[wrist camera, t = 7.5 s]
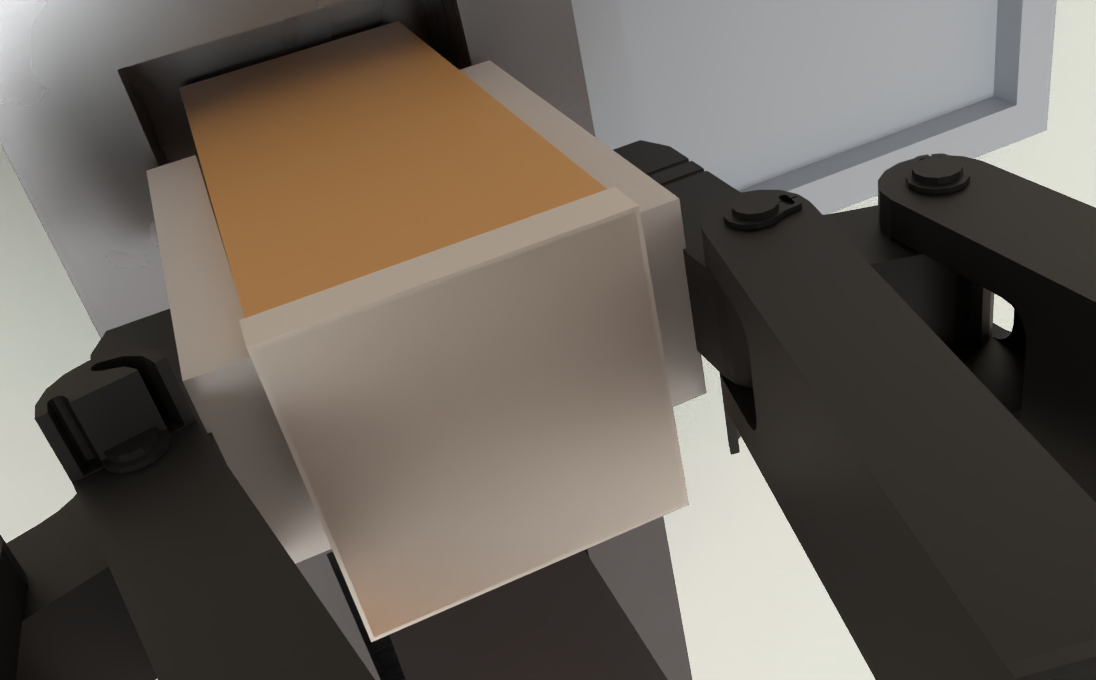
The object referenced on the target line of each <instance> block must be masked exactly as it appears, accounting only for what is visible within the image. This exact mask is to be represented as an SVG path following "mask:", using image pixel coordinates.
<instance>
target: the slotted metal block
mask: <svg viewBox="0 0 1096 680" xmlns="http://www.w3.org/2000/svg"><path fill="white" fill-rule="evenodd" d="M396 21H399V22H400V23H401V24H403V25H404V26H405V27H406V28H407V29H409V30H410V31H411V32H412V33H414V34H415V35H416V36H417V37H419V38H420V39H421V40H422V41H424V42H425V43H426V44H427V45H429V46H430V47H431V48H432V49H434V50H435V51H436V52H437V53H439V54H440V55H441V56H442V57H444V58H445V59H446V60H447V61H449V62H450V63H451V64H452V65H454V66H455V67H456V68H457V69H458V70H461V69H464V68H467V67H470V66H473V65H476V64H479V63H482V62H486V61H489V60H490V61H491V62H493V63H494V64H496V65H497V66H498V67H500V68H501V69H502V70H504V71H505V72H507V73H508V74H509V75H511V76H512V77H513V78H515V79H516V80H517V81H519V82H520V83H522V84H523V85H524V86H526V87H527V88H528V89H530V90H531V91H533V92H534V93H535V94H537V95H538V96H539V97H541V98H542V99H544V100H545V101H546V102H548V103H549V104H550V105H552V106H553V107H555V108H556V109H557V110H559V111H560V112H561V113H563V114H564V115H565V116H567V117H568V118H570V119H571V120H572V121H574V122H575V123H576V124H578V125H579V126H581V127H582V128H583V129H585V130H586V131H587V132H589V133H590V134H592V135H593V136H594V137H595V131H594V126H593V120H592V114H591V109H590V103H589V97H588V92H587V86H586V81H585V75H584V69H583V64H582V58H581V53H580V47H579V41H578V36H577V30H576V24H575V19H574V13H573V8H572V2H571V0H0V144H1V146H2V148H3V149H4V151H5V153H6V155H7V157H8V159H9V161H10V163H11V165H12V167H13V169H14V171H15V173H16V175H17V177H18V179H19V180H20V182H21V184H22V186H23V188H24V190H25V192H26V194H27V196H28V198H29V200H30V202H31V204H32V206H33V208H34V210H35V211H36V213H37V215H38V217H39V219H40V221H41V223H42V225H43V227H44V229H45V231H46V233H47V235H48V237H49V239H50V241H51V242H52V244H53V246H54V248H55V250H56V252H57V254H58V256H59V258H60V260H61V262H62V264H63V266H64V268H65V270H66V272H67V273H68V275H69V277H70V279H71V281H72V283H73V285H74V287H75V289H76V291H77V293H78V295H79V297H80V299H81V301H82V303H83V304H84V306H85V308H86V310H87V312H88V314H89V316H90V318H91V320H92V322H93V324H94V326H95V328H96V330H97V332H98V334H99V335H100V337H101V338H102V337H103V335H104V334H105V332H106V331H107V330H110V329H113V328H116V327H119V326H122V325H124V324H127V323H130V322H133V321H136V320H139V319H141V318H144V317H147V316H150V315H153V314H156V313H158V312H161V311H164V310H167V309H170V305H169V300H168V294H167V288H166V282H165V277H164V271H163V265H162V259H161V253H160V248H159V242H158V236H157V230H156V224H155V219H154V213H153V207H152V201H151V195H150V190H149V184H148V178H147V172H146V171H147V170H150V169H153V168H156V167H160V166H163V165H166V164H169V163H172V162H175V161H178V160H181V159H184V158H187V157H191V156H194V155H196V157H197V159H198V162H199V164H200V167H201V163H200V160H199V156H198V153H197V149H196V146H195V142H194V138H193V135H192V131H191V128H190V124H189V121H188V117H187V114H186V110H185V107H184V103H183V100H182V96H181V93H180V89H179V88H180V87H183V86H186V85H190V84H193V83H196V82H199V81H203V80H206V79H209V78H212V77H216V76H219V75H222V74H226V73H229V72H232V71H235V70H239V69H242V68H245V67H249V66H252V65H255V64H258V63H262V62H265V61H268V60H272V59H275V58H278V57H281V56H285V55H288V54H291V53H295V52H298V51H301V50H304V49H308V48H311V47H314V46H318V45H321V44H324V43H327V42H331V41H334V40H337V39H341V38H344V37H347V36H350V35H354V34H357V33H360V32H364V31H367V30H370V29H373V28H377V27H380V26H383V25H387V24H390V23H393V22H396ZM201 169H202V167H201ZM202 172H203V170H202ZM585 552H586V553H587V555H588V556H589V558H590V559H591V561H592V562H593V564H594V566H595V567H596V569H597V570H598V572H599V573H600V575H601V576H602V578H603V580H604V581H605V583H606V584H607V586H608V587H609V589H610V591H611V592H612V594H613V595H614V597H615V598H616V600H617V601H618V603H619V605H620V606H621V608H622V609H623V611H624V612H625V614H626V615H627V617H628V619H629V620H630V622H631V623H632V625H633V626H634V628H635V630H636V631H637V633H638V634H639V636H640V637H641V639H642V640H643V642H644V644H645V645H646V647H647V648H648V650H649V651H650V653H651V654H652V656H653V658H654V659H655V661H656V662H657V664H658V665H659V667H660V668H661V670H662V672H663V673H664V675H665V676H666V678H667V679H668V680H692V676H691V670H690V664H689V659H688V653H687V647H686V642H685V636H684V631H683V625H682V619H681V614H680V608H679V603H678V597H677V591H676V586H675V580H674V575H673V569H672V563H671V558H670V552H669V546H668V541H667V535H666V530H665V524H664V518H663V516H661V517H659V518H657V519H655V520H652V521H650V522H648V523H645V524H643V525H641V526H638V527H636V528H634V529H631V530H629V531H627V532H625V533H622V534H620V535H618V536H615V537H613V538H611V539H608V540H606V541H604V542H601V543H599V544H597V545H595V546H592V547H590V548H588V549H585ZM296 566H297V567H298V569H299V570H300V572H301V573H302V574H303V576H304V577H305V579H306V580H307V582H308V583H309V585H310V586H311V587H312V589H313V590H314V592H315V593H316V595H317V596H318V598H319V599H320V601H321V602H322V603H323V605H324V606H325V608H326V609H327V611H328V612H329V614H330V615H331V616H332V618H333V619H334V621H335V622H336V624H337V625H338V627H339V628H340V630H341V631H342V632H343V634H344V635H345V637H346V638H347V640H348V641H349V643H350V644H351V645H352V647H353V648H354V650H355V651H356V653H357V654H358V656H359V657H360V659H361V660H362V661H363V663H364V664H365V666H366V667H367V669H368V670H369V672H370V673H371V674H372V676H373V677H374V679H375V680H406V679H405V677H404V674H403V671H402V668H401V666H400V663H399V660H398V657H397V654H396V652H395V649H394V646H393V643H392V641H391V638H390V635H387V636H385V637H382V638H380V639H378V640H375V641H373V642H371V640H370V638H369V635H368V633H367V631H366V628H365V626H364V624H363V621H362V619H361V616H360V614H359V612H358V609H357V607H356V605H355V602H354V600H353V598H352V595H351V593H350V591H349V588H348V586H347V583H346V581H345V579H344V576H343V574H342V572H341V569H340V567H339V565H338V562H337V560H336V557H335V555H334V553H333V550H332V549H330V550H327V551H325V552H323V553H320V554H318V555H315V556H313V557H311V558H308V559H306V560H303V561H301V562H299V563H296Z"/></svg>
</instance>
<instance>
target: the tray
mask: <svg viewBox="0 0 1096 680" xmlns="http://www.w3.org/2000/svg"><path fill="white" fill-rule="evenodd" d="M1056 1H1057V0H571V2H572V8H573V13H574V19H575V24H576V30H577V36H578V41H579V47H580V53H581V58H582V64H583V69H584V75H585V81H586V86H587V92H588V97H589V103H590V109H591V114H592V120H593V126H594V131H595V137H596V138H597V139H598V140H600V141H601V142H603V143H604V144H605V145H607V146H608V147H609V148H611V149H612V150H613V149H616V148H619V147H622V146H625V145H628V144H631V143H633V142H636V141H639V140H643V141H648V142H652V143H657V144H662V145H666V146H670V147H672V148H673V149H675V150H676V151H678V152H679V153H681V154H682V155H684V156H686V157H687V158H688V159H689V162H690V161H693V162H695V163H696V164H698V165H699V166H701V167H702V168H704V171H709V172H710V173H712V174H713V175H715V176H716V177H718V178H719V179H721V180H722V181H724V182H725V183H727V184H728V185H730V186H732V187H733V188H735V189H736V190H738V191H739V192H748V191H754V190H783V191H787V192H792V193H796V194H799V195H800V196H802V197H804V198H805V199H807V200H809V201H810V202H811V203H812V204H813V205H814V206H815V207H816V208H817V209H818V210H819V211H820V212H821V214H822V215H826V214H830V213H833V212H835V211H838V210H840V209H843V208H846V207H848V206H851V205H853V204H856V203H859V202H861V201H864V200H866V199H869V198H872V197H874V196H877V195H878V180H879V178H880V177H881V175H882V174H883V173H884V171H885V170H887V169H889V168H891V167H892V166H894V165H896V164H898V163H900V162H903V161H907V160H910V159H914V158H915V157H917V156H921V155H927V154H928V155H929V156H931V154H939V153H943V154H947V155H952V156H965V157H969V158H972V159H973V158H975V157H978V156H981V155H983V154H986V153H988V152H991V151H994V150H996V149H999V148H1001V147H1004V146H1007V145H1009V144H1012V143H1014V142H1017V141H1020V140H1022V139H1025V138H1027V137H1030V136H1033V135H1035V134H1038V133H1040V132H1043V131H1046V130H1047V119H1048V106H1049V92H1050V79H1051V66H1052V53H1053V40H1054V27H1055V14H1056Z"/></svg>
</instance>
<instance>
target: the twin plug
mask: <svg viewBox="0 0 1096 680" xmlns="http://www.w3.org/2000/svg"><path fill="white" fill-rule="evenodd" d="M389 635H390V638H391V641H392V643H393V646H394V649H395V652H396V654H397V657H398V660H399V663H400V666H401V668H402V671H403V674H404V677H405V679H406V680H668V679H667V678H666V676H665V675H664V673H663V672H662V670H661V668H660V667H659V665H658V664H657V662H656V661H655V659H654V658H653V656H652V654H651V653H650V651H649V650H648V648H647V647H646V645H645V644H644V642H643V640H642V639H641V637H640V636H639V634H638V633H637V631H636V630H635V628H634V626H633V625H632V623H631V622H630V620H629V619H628V617H627V615H626V614H625V612H624V611H623V609H622V608H621V606H620V605H619V603H618V601H617V600H616V598H615V597H614V595H613V594H612V592H611V591H610V589H609V587H608V586H607V584H606V583H605V581H604V580H603V578H602V576H601V575H600V573H599V572H598V570H597V569H596V567H595V566H594V564H593V562H592V561H591V559H590V558H589V556H588V555H587V553H586V552H585V550H583V551H581V552H578V553H576V554H574V555H571V556H569V557H567V558H565V559H562V560H560V561H558V562H555V563H553V564H551V565H548V566H546V567H544V568H542V569H539V570H537V571H535V572H532V573H530V574H528V575H525V576H523V577H521V578H518V579H516V580H514V581H512V582H509V583H507V584H505V585H502V586H500V587H498V588H495V589H493V590H491V591H488V592H486V593H484V594H482V595H479V596H477V597H475V598H472V599H470V600H468V601H465V602H463V603H461V604H459V605H456V606H454V607H452V608H449V609H447V610H445V611H442V612H440V613H438V614H435V615H433V616H431V617H429V618H426V619H424V620H422V621H419V622H417V623H415V624H412V625H410V626H408V627H405V628H403V629H401V630H399V631H396V632H394V633H392V634H389Z"/></svg>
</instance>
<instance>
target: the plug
mask: <svg viewBox="0 0 1096 680" xmlns="http://www.w3.org/2000/svg"><path fill="white" fill-rule="evenodd" d="M179 89H180V93H181V96H182V100H183V103H184V107H185V110H186V114H187V117H188V121H189V124H190V128H191V131H192V135H193V138H194V142H195V146H196V149H197V153H198V156H199V160H200V163H201V167H202V170H203V174H204V177H205V181H206V184H207V188H208V191H209V195H210V198H211V202H212V205H213V209H214V212H215V216H216V219H217V223H218V226H219V230H220V234H221V237H222V241H223V244H224V248H225V251H226V255H227V258H228V262H229V265H230V269H231V272H232V276H233V279H234V283H235V286H236V290H237V293H238V297H239V300H240V304H241V307H242V311H243V314H244V319H241V320H239V322H240V325H241V329H242V333H243V336H244V340H245V344H246V347H247V350H248V352H249V355H250V357H251V359H252V362H253V364H254V366H255V369H256V371H257V373H258V376H259V378H260V380H261V383H262V385H263V388H264V390H265V392H266V395H267V397H268V399H269V402H270V404H271V406H272V409H273V411H274V414H275V416H276V418H277V421H278V423H279V425H280V428H281V430H282V432H283V435H284V437H285V439H286V442H287V444H288V447H289V449H290V451H291V454H292V456H293V458H294V461H295V463H296V465H297V468H298V470H299V473H300V475H301V477H302V480H303V482H304V484H305V487H306V489H307V491H308V494H309V496H310V498H311V501H312V503H313V506H314V508H315V510H316V513H317V515H318V517H319V520H320V522H321V524H322V527H323V529H324V532H325V534H326V536H327V539H328V541H329V543H330V546H331V548H332V550H333V553H334V555H335V557H336V560H337V562H338V565H339V567H340V569H341V572H342V574H343V576H344V579H345V581H346V583H347V586H348V588H349V591H350V593H351V595H352V598H353V600H354V602H355V605H356V607H357V609H358V612H359V614H360V616H361V619H362V621H363V624H364V626H365V628H366V631H367V633H368V635H369V638H370V640H371V642H373V641H375V640H378V639H380V638H382V637H385V636H387V635H389V634H392V633H394V632H396V631H399V630H401V629H403V628H405V627H408V626H410V625H412V624H415V623H417V622H419V621H422V620H424V619H426V618H429V617H431V616H433V615H435V614H438V613H440V612H442V611H445V610H447V609H449V608H452V607H454V606H456V605H459V604H461V603H463V602H465V601H468V600H470V599H472V598H475V597H477V596H479V595H482V594H484V593H486V592H488V591H491V590H493V589H495V588H498V587H500V586H502V585H505V584H507V583H509V582H512V581H514V580H516V579H518V578H521V577H523V576H525V575H528V574H530V573H532V572H535V571H537V570H539V569H542V568H544V567H546V566H548V565H551V564H553V563H555V562H558V561H560V560H562V559H565V558H567V557H569V556H571V555H574V554H576V553H578V552H581V551H583V550H585V549H588V548H590V547H592V546H595V545H597V544H599V543H601V542H604V541H606V540H608V539H611V538H613V537H615V536H618V535H620V534H622V533H625V532H627V531H629V530H631V529H634V528H636V527H638V526H641V525H643V524H645V523H648V522H650V521H652V520H655V519H657V518H659V517H661V516H664V515H666V514H668V513H671V512H673V511H675V510H678V509H680V508H682V507H684V506H687V505H689V502H688V496H687V490H686V484H685V478H684V472H683V466H682V460H681V454H680V448H679V442H678V436H677V430H676V424H675V418H674V412H673V406H672V400H671V394H670V388H669V382H668V376H667V370H666V364H665V358H664V352H663V346H662V340H661V334H660V328H659V322H658V316H657V310H656V304H655V298H654V292H653V286H652V280H651V274H650V268H649V262H648V256H647V250H646V244H645V238H644V232H643V227H642V221H641V215H640V209H639V205H638V204H636V203H635V202H634V201H632V200H631V199H630V198H629V197H627V196H626V195H625V194H624V193H622V192H621V191H620V190H618V189H617V188H616V187H612V188H609V189H607V188H605V187H604V186H603V185H602V184H600V183H599V182H598V181H597V180H595V179H594V178H593V177H592V176H590V175H589V174H588V173H587V172H585V171H584V170H583V169H582V168H580V167H579V166H578V165H577V164H575V163H574V162H573V161H572V160H570V159H569V158H568V157H567V156H565V155H564V154H563V153H562V152H561V151H559V150H558V149H557V148H556V147H554V146H553V145H552V144H551V143H549V142H548V141H547V140H546V139H544V138H543V137H542V136H541V135H539V134H538V133H537V132H536V131H534V130H533V129H532V128H531V127H529V126H528V125H527V124H526V123H524V122H523V121H522V120H521V119H519V118H518V117H517V116H516V115H514V114H513V113H512V112H511V111H510V110H508V109H507V108H506V107H505V106H503V105H502V104H501V103H500V102H498V101H497V100H496V99H495V98H493V97H492V96H491V95H490V94H488V93H487V92H486V91H485V90H483V89H482V88H481V87H480V86H478V85H477V84H476V83H475V82H473V81H472V80H471V79H470V78H468V77H467V76H466V75H465V74H463V73H462V72H461V71H460V70H458V69H457V68H456V67H455V66H454V65H452V64H451V63H450V62H449V61H447V60H446V59H445V58H444V57H442V56H441V55H440V54H439V53H437V52H436V51H435V50H434V49H432V48H431V47H430V46H429V45H427V44H426V43H425V42H424V41H422V40H421V39H420V38H419V37H417V36H416V35H415V34H414V33H412V32H411V31H410V30H409V29H407V28H406V27H405V26H404V25H403V24H401V23H400V22H399V21H396V22H393V23H390V24H387V25H383V26H380V27H377V28H373V29H370V30H367V31H364V32H360V33H357V34H354V35H350V36H347V37H344V38H341V39H337V40H334V41H331V42H327V43H324V44H321V45H318V46H314V47H311V48H308V49H304V50H301V51H298V52H295V53H291V54H288V55H285V56H281V57H278V58H275V59H272V60H268V61H265V62H262V63H258V64H255V65H252V66H249V67H245V68H242V69H239V70H235V71H232V72H229V73H226V74H222V75H219V76H216V77H212V78H209V79H206V80H203V81H199V82H196V83H193V84H190V85H186V86H183V87H180V88H179Z"/></svg>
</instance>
